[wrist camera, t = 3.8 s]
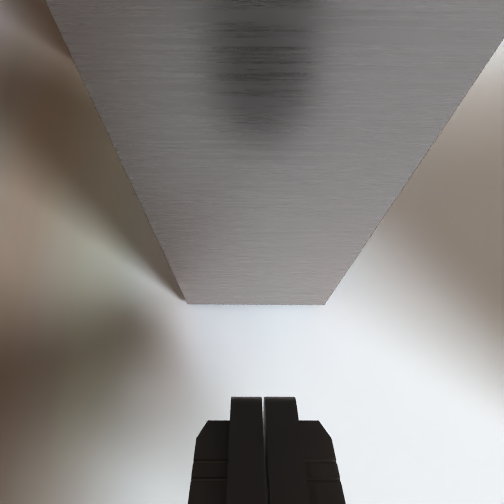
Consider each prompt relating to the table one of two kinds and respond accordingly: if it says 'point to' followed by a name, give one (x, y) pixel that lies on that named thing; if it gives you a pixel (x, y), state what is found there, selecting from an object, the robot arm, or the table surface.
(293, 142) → the tall gray rectangular post
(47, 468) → the table surface
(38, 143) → the table surface
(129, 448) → the table surface
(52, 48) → the table surface
